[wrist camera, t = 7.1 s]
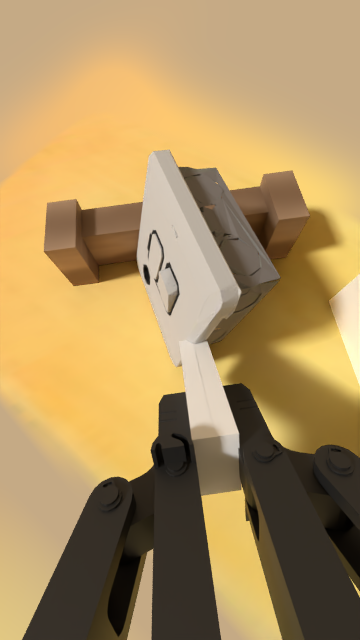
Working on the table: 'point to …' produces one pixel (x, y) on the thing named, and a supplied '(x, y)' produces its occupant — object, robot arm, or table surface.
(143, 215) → the electrical switch
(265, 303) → the table surface
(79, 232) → the bracket
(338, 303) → the socket block
